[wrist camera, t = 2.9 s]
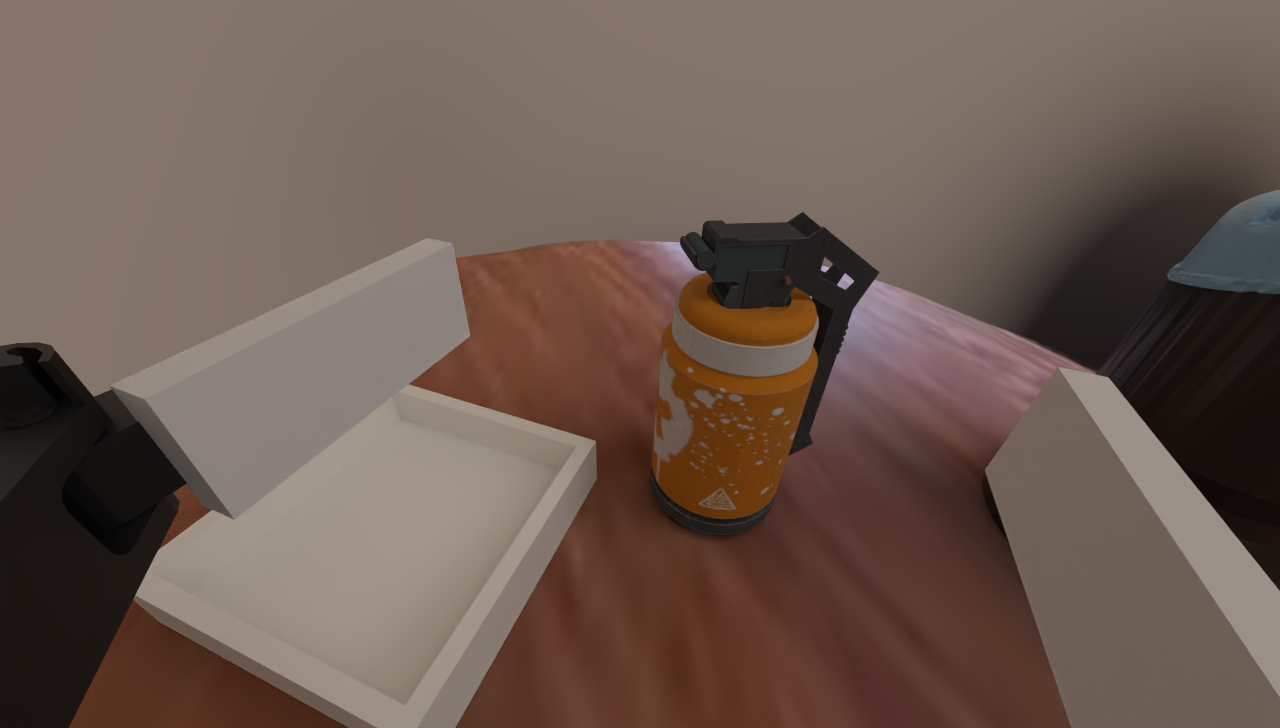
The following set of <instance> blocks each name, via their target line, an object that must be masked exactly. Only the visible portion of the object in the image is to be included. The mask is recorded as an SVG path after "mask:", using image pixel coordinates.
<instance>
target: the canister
mask: <svg viewBox="0 0 1280 728" xmlns="http://www.w3.org/2000/svg"><path fill="white" fill-rule="evenodd" d="M680 244H681V247H682V249H683V250H684V252H685V253H686V255H687V256H688V258H689V259H690V261H691V262H692V264H693V265H694V267H695V268H696V269H698V270H700V271H706V273H703V274H701V275H698V276H696V277H694V278H693V279H691V280H690V281H689V282H688V283H687V284H685V286H684V287H683V289H682V290H681V292H680V293H679V294H678V296H677V297H676V300H675V306H674V315H673V321H672V322H671V323H670V324H669V325H668V326H667V327H666V329H665V331H664V333H663V336H662V342H661V354H660V366H659V379H658V391H657V403H656V416H655V428H654V440H653V453H652V465H651V487H652V490H653V493H654V496H655V498H656V500H657V501H658V503H659V505H660V506H661V507H662V508H663V510H664V511H665V512H666V513H667V514H668V515H670V516H671V517H672V518H673V519H675V520H676V521H677V522H679V523H680V524H682V525H684V526H686V527H688V528H690V529H693V530H696V531H699V532H702V533H707V534H714V535H730V534H736V533H740V532H744V531H746V530H749V529H751V528H753V527H754V526H756V525H757V524H759V523H760V522H761V521H762V520H763V519H764V518H765V517H766V515H767V514H768V512H769V511H770V508H771V506H772V503H773V500H774V497H775V494H776V491H777V488H778V485H779V482H780V479H781V476H782V473H783V470H784V467H785V464H786V461H787V458H788V456H789V455H791V454H793V453H795V452H797V451H799V450H801V449H803V448H805V447H807V446H809V445H811V444H813V442H812V439H811V437H810V435H809V432H810V429H811V427H812V424H813V421H814V418H815V415H816V412H817V410H818V407H819V404H820V401H821V398H822V395H823V393H824V390H825V387H826V384H827V381H828V379H829V376H830V373H831V370H832V367H833V364H834V362H835V359H836V356H837V354H839V351H840V350H839V348H841V346H842V344H841V342H843V340H844V338H843V336H845V335H846V332H845V330H847V329H848V322H849V319H850V316H851V313H852V311H853V308H854V307H855V306H856V304H857V303H858V301H859V300H860V299H861V297H862V296H863V295H864V293H865V292H866V290H867V289H868V288H869V286H870V285H871V283H872V282H873V281H874V279H875V278H876V276H877V275H878V274H879V272H878V271H877V270H876V269H875V268H873V267H872V266H871V265H870V264H868V263H867V262H866V261H865V260H864V259H862V258H861V257H860V256H859V255H857V254H856V253H855V252H854V251H853V250H851V249H850V248H849V247H848V246H846V245H845V244H844V243H843V242H841V241H840V240H839V239H838V238H837V237H835V236H834V235H833V234H831V233H830V232H829V231H828V230H827V229H826V228H825V227H822V228H821V227H820V226H819V225H818V224H816V223H815V222H814V221H813V220H812V219H810V218H809V217H808V216H807V215H806V214H805V213H803V212H802V213H800V214H799V215H797V216H796V217H795V218H793V219H791V220H790V221H788V222H781V223H780V222H779V223H736V224H725V223H724V222H723V221H706V222H705V223H704V224H703V231H702V238H701V237H700V235H698V233H696V232H691V233H688V234H687V235H686V236H682V237H681V239H680ZM824 257H826V258H827V259H828V260H830V262H832V263H833V265H832V266H831V267H830V268H829V269H828V270H827V271H826V272H823V271H821V267H822V263H823V260H824ZM845 273H846V274H847V275H848V276H849V277H850V278H852V279H853V280H854V283H852V284H851V285H850V286H849V287H848V288H847V289H846V290H845V289H843V288H841V287H839V286H837V284H838V282H839V281H840V279H841V278H842V276H843V275H844V274H845ZM810 296H811V297H812V299H811V298H810Z"/></svg>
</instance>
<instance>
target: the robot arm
mask: <svg viewBox="0 0 1280 728" xmlns="http://www.w3.org/2000/svg"><path fill="white" fill-rule="evenodd" d="M1167 276H1168V277H1169V280H1168V281H1167V282H1166V284H1165V285H1164V286H1163V288H1162V289H1161V290H1160V292H1159V293H1158V294H1157V295H1156V297H1155V298H1154V299H1153V301H1152V302H1151V303H1150V305H1149V306H1148V307H1147V309H1146V310H1145V311H1144V312H1143V314H1142V315H1141V316H1140V318H1139V319H1138V320H1137V322H1136V323H1135V324H1134V326H1133V327H1132V328H1131V329H1130V331H1129V332H1128V333H1127V335H1126V336H1125V337H1124V338H1123V340H1122V341H1121V342H1120V344H1119V345H1118V346H1117V348H1116V349H1115V350H1114V351H1113V353H1112V354H1111V355H1110V357H1109V358H1108V359H1107V361H1106V362H1105V363H1104V364H1103V366H1102V367H1101V368H1100V369H1099V371H1098V372H1097V373H1096V374H1090V373H1085V372H1080V371H1075V370H1070V369H1065V368H1060V367H1058V368H1057V369H1056V371H1055V372H1054V373H1053V375H1052V376H1051V378H1050V379H1049V380H1048V382H1047V383H1046V385H1045V386H1044V387H1043V389H1042V390H1041V392H1040V393H1039V394H1038V396H1037V397H1036V399H1035V400H1034V401H1033V403H1032V404H1031V406H1030V407H1029V409H1028V410H1027V411H1026V413H1025V414H1024V416H1023V417H1022V418H1021V420H1020V421H1019V423H1018V424H1017V425H1016V427H1015V428H1014V430H1013V431H1012V432H1011V434H1010V435H1009V437H1008V438H1007V439H1006V441H1005V442H1004V444H1003V445H1002V446H1001V448H1000V449H999V451H998V452H997V453H996V455H995V456H994V458H993V459H992V460H991V462H990V463H989V465H988V466H987V467H986V469H985V475H984V480H983V488H984V494H985V498H986V501H987V504H988V506H989V508H990V511H991V512H992V514H993V516H994V518H995V519H996V521H997V523H998V524H999V526H1000V527H1001V528H1002V530H1003V531H1004V532H1005V534H1006V535H1007V538H1008V541H1009V544H1010V547H1011V550H1012V553H1013V556H1014V559H1015V562H1016V565H1017V568H1018V571H1019V574H1020V577H1021V580H1022V583H1023V586H1024V589H1025V592H1026V595H1027V598H1028V601H1029V604H1030V607H1031V610H1032V613H1033V616H1034V619H1035V622H1036V625H1037V628H1038V631H1039V634H1040V637H1041V640H1042V643H1043V645H1044V648H1045V651H1046V654H1047V657H1048V660H1049V663H1050V666H1051V669H1052V672H1053V675H1054V678H1055V681H1056V684H1057V687H1058V690H1059V693H1060V696H1061V699H1062V702H1063V705H1064V708H1065V711H1066V714H1067V717H1068V720H1069V723H1070V726H1071V728H1280V190H1277V191H1273V192H1269V193H1265V194H1261V195H1258V196H1256V197H1253V198H1251V199H1248V200H1246V201H1244V202H1242V203H1240V204H1238V205H1237V206H1235V207H1233V208H1232V209H1231V210H1229V211H1228V212H1227V213H1226V214H1225V215H1224V216H1223V217H1221V219H1220V220H1219V221H1218V222H1217V223H1216V224H1215V225H1214V226H1213V227H1212V229H1211V230H1210V231H1209V232H1208V233H1207V234H1206V235H1205V237H1204V238H1203V239H1202V240H1201V241H1200V242H1199V243H1198V245H1197V246H1196V247H1195V248H1194V249H1193V250H1192V251H1191V253H1190V254H1189V255H1188V256H1187V257H1186V258H1185V259H1184V260H1183V262H1181V263H1179V264H1177V265H1176V266H1174V267H1173V268H1172V269H1171V270H1170V271H1169V273H1168V274H1167ZM469 336H470V332H469V327H468V322H467V317H466V311H465V306H464V301H463V296H462V291H461V285H460V280H459V275H458V270H457V265H456V259H455V254H454V249H453V244H452V243H448V242H443V241H439V240H434V239H428V238H427V239H425V240H422V241H420V242H418V243H416V244H414V245H412V246H410V247H407V248H405V249H403V250H401V251H399V252H397V253H394V254H392V255H390V256H388V257H386V258H384V259H382V260H380V261H377V262H375V263H373V264H371V265H369V266H367V267H364V268H362V269H360V270H358V271H356V272H353V273H351V274H349V275H347V276H345V277H343V278H340V279H339V280H336V281H334V282H332V283H330V284H328V285H325V286H323V287H321V288H319V289H317V290H315V291H313V292H310V293H308V294H306V295H304V296H302V297H299V298H297V299H295V300H293V301H291V302H289V303H287V304H284V305H282V306H280V307H278V308H276V309H274V310H271V311H269V312H267V313H265V314H263V315H261V316H259V317H256V318H254V319H252V320H250V321H248V322H246V323H243V324H241V325H239V326H237V327H235V328H233V329H231V330H229V331H226V332H224V333H222V334H220V335H218V336H215V337H213V338H211V339H209V340H207V341H205V342H202V343H200V344H198V345H196V346H194V347H192V348H190V349H187V350H185V351H183V352H181V353H179V354H177V355H175V356H172V357H170V358H168V359H166V360H164V361H162V362H160V363H157V364H155V365H153V366H151V367H149V368H147V369H144V370H142V371H140V372H138V373H136V374H133V375H131V376H129V377H127V378H125V379H123V380H121V381H118V382H117V383H114V384H112V385H110V387H111V389H112V390H109V391H107V392H105V393H102V394H100V395H97V396H95V397H93V396H92V394H91V393H90V392H89V391H88V390H87V388H86V387H85V386H84V385H83V384H82V382H81V381H80V380H79V379H78V378H77V376H76V375H75V374H74V373H73V371H72V370H71V369H70V368H69V367H68V365H67V364H66V363H65V362H64V360H63V359H62V358H61V357H60V356H59V354H58V353H57V352H56V351H55V350H54V348H53V347H52V346H51V345H47V344H42V343H16V344H11V345H5V346H0V728H69V726H70V724H71V722H72V720H73V718H74V716H75V714H76V712H77V710H78V708H79V706H80V704H81V702H82V700H83V698H84V696H85V694H86V692H87V690H88V688H89V686H90V684H91V682H92V680H93V678H94V676H95V674H96V672H97V670H98V668H99V666H100V664H101V662H102V660H103V658H104V656H105V654H106V652H107V651H108V649H109V647H110V645H111V643H112V641H113V639H114V637H115V635H116V633H117V631H118V629H119V627H120V625H121V623H122V621H123V619H124V617H125V615H126V613H127V611H128V609H129V607H130V605H131V603H132V601H133V599H134V597H135V595H136V593H137V591H138V589H139V587H140V585H141V583H142V581H143V579H144V577H145V575H146V573H147V571H148V569H149V567H150V565H151V563H152V561H153V559H154V557H155V555H156V553H157V551H158V549H159V547H160V546H161V544H162V542H163V540H164V538H165V536H166V534H167V532H168V530H169V528H170V526H171V524H172V522H173V520H174V518H175V516H176V514H177V512H178V507H179V500H178V499H177V498H176V496H175V495H174V494H173V492H174V491H176V490H177V489H179V488H180V487H182V486H183V485H185V484H187V485H188V486H189V488H190V489H191V490H192V492H193V493H194V494H195V495H196V497H197V498H198V499H199V500H200V502H201V503H202V504H203V506H205V507H207V508H209V509H212V510H214V511H216V512H218V513H221V514H223V515H225V516H227V517H230V518H232V519H234V520H235V519H236V518H237V517H239V516H240V515H241V514H243V513H244V512H245V511H246V510H248V509H249V508H250V507H252V506H253V505H254V504H255V503H257V502H258V501H259V500H260V499H262V498H263V497H264V496H266V495H267V494H268V493H269V492H271V491H272V490H273V489H275V488H276V487H277V486H278V485H280V484H281V483H282V482H284V481H285V480H286V479H287V478H289V477H290V476H291V475H293V474H294V473H295V472H296V471H298V470H299V469H300V468H302V467H303V466H304V465H305V464H307V463H308V462H309V461H310V460H312V459H313V458H314V457H316V456H317V455H318V454H319V453H321V452H322V451H323V450H325V449H326V448H327V447H328V446H330V445H331V444H332V443H334V442H335V441H336V440H337V439H339V438H340V437H341V436H343V435H344V434H345V433H346V432H348V431H349V430H350V429H352V428H353V427H354V426H355V425H357V424H358V423H359V422H360V421H362V420H363V419H364V418H366V417H367V416H368V415H369V414H371V413H372V412H373V411H375V410H376V409H377V408H378V407H380V406H381V405H382V404H384V403H385V402H386V401H387V400H389V399H390V398H391V397H393V396H394V395H395V394H396V393H398V392H399V391H400V390H402V389H403V388H404V387H405V386H407V385H408V384H409V383H410V382H412V381H413V380H414V379H416V378H417V377H418V376H419V375H421V374H422V373H423V372H425V371H426V370H427V369H428V368H430V367H431V366H432V365H434V364H435V363H436V362H437V361H439V360H440V359H441V358H443V357H444V356H445V355H446V354H448V353H449V352H450V351H452V350H453V349H454V348H455V347H457V346H458V345H459V344H461V343H462V342H463V341H464V340H466V339H467V338H468V337H469Z"/></svg>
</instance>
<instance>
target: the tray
mask: <svg viewBox="0 0 1280 728" xmlns="http://www.w3.org/2000/svg"><path fill="white" fill-rule="evenodd" d="M596 480H597V467H596V441H594V440H591V439H588V438H584V437H581V436H578V435H574V434H571V433H568V432H565V431H561V430H558V429H555V428H551V427H548V426H545V425H541V424H538V423H535V422H531V421H528V420H525V419H521V418H518V417H515V416H511V415H508V414H505V413H501V412H498V411H495V410H491V409H488V408H485V407H481V406H478V405H475V404H471V403H468V402H465V401H461V400H458V399H455V398H452V397H448V396H445V395H442V394H438V393H435V392H432V391H428V390H425V389H422V388H418V387H415V386H412V385H407V386H405V387H404V388H403V389H402V390H400V391H399V392H398V393H396V394H395V395H394V396H393V397H391V398H390V399H389V400H387V401H386V402H385V403H384V404H382V405H381V406H380V407H378V408H377V409H376V410H375V411H373V412H372V413H371V414H369V415H368V416H367V417H366V418H364V419H363V420H362V421H360V422H359V423H358V424H357V425H355V426H354V427H353V428H352V429H350V430H349V431H348V432H346V433H345V434H344V435H343V436H341V437H340V438H339V439H337V440H336V441H335V442H334V443H332V444H331V445H330V446H328V447H327V448H326V449H325V450H323V451H322V452H321V453H319V454H318V455H317V456H316V457H314V458H313V459H312V460H310V461H309V462H308V463H307V464H305V465H304V466H303V467H302V468H300V469H299V470H298V471H296V472H295V473H294V474H293V475H291V476H290V477H289V478H287V479H286V480H285V481H284V482H282V483H281V484H280V485H278V486H277V487H276V488H275V489H273V490H272V491H271V492H269V493H268V494H267V495H266V496H264V497H263V498H262V499H260V500H259V501H258V502H257V503H255V504H254V505H253V506H252V507H250V508H249V509H248V510H246V511H245V512H244V513H243V514H241V515H240V516H239V517H237V518H236V519H235V520H234V519H232V518H230V517H227V516H225V515H223V514H221V513H218V512H216V511H214V510H212V511H210V512H209V513H208V514H206V515H205V516H204V517H202V518H201V519H200V520H198V521H197V522H196V523H194V524H193V525H192V526H190V527H189V528H187V529H186V530H185V531H183V532H182V533H181V534H179V535H178V536H177V537H175V538H174V539H173V540H171V541H170V542H169V543H167V544H166V545H165V546H163V547H162V548H161V549H159V550H158V551H157V553H156V555H155V557H154V559H153V561H152V563H151V565H150V567H149V569H148V571H147V573H146V575H145V577H144V579H143V581H142V583H141V585H140V587H139V589H138V591H137V593H136V595H135V597H134V599H133V600H134V601H135V602H136V603H137V604H139V605H140V606H141V607H142V608H143V609H144V610H146V611H147V612H148V613H149V614H150V615H152V616H153V617H154V618H155V619H156V620H157V621H159V622H160V623H162V624H164V625H165V626H167V627H169V628H171V629H173V630H174V631H176V632H178V633H180V634H182V635H183V636H185V637H187V638H189V639H190V640H192V641H194V642H196V643H198V644H199V645H201V646H203V647H205V648H207V649H208V650H210V651H212V652H214V653H216V654H217V655H219V656H221V657H223V658H224V659H226V660H228V661H230V662H232V663H233V664H235V665H237V666H239V667H241V668H242V669H244V670H246V671H248V672H250V673H251V674H253V675H255V676H257V677H258V678H260V679H262V680H264V681H266V682H267V683H269V684H271V685H273V686H275V687H276V688H278V689H280V690H282V691H284V692H285V693H287V694H289V695H291V696H292V697H294V698H296V699H298V700H300V701H301V702H303V703H305V704H307V705H309V706H310V707H312V708H314V709H316V710H318V711H319V712H321V713H323V714H325V715H326V716H328V717H330V718H332V719H334V720H335V721H337V722H339V723H341V724H343V725H344V726H346V727H348V728H456V726H457V724H458V722H459V721H460V719H461V717H462V715H463V714H464V712H465V710H466V708H467V707H468V705H469V703H470V701H471V700H472V698H473V696H474V694H475V693H476V691H477V689H478V687H479V685H480V684H481V682H482V680H483V678H484V677H485V675H486V673H487V671H488V670H489V668H490V666H491V664H492V663H493V661H494V659H495V657H496V656H497V654H498V652H499V650H500V649H501V647H502V645H503V643H504V641H505V640H506V638H507V636H508V634H509V633H510V631H511V629H512V627H513V626H514V624H515V622H516V620H517V619H518V617H519V615H520V613H521V612H522V610H523V608H524V606H525V605H526V603H527V601H528V599H529V597H530V596H531V594H532V592H533V590H534V589H535V587H536V585H537V583H538V582H539V580H540V578H541V576H542V575H543V573H544V571H545V569H546V568H547V566H548V564H549V562H550V561H551V559H552V557H553V555H554V553H555V552H556V550H557V548H558V546H559V545H560V543H561V541H562V539H563V538H564V536H565V534H566V532H567V531H568V529H569V527H570V525H571V524H572V522H573V520H574V518H575V517H576V515H577V513H578V511H579V509H580V508H581V506H582V504H583V502H584V501H585V499H586V497H587V495H588V494H589V492H590V490H591V488H592V487H593V485H594V483H595V481H596Z"/></svg>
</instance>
